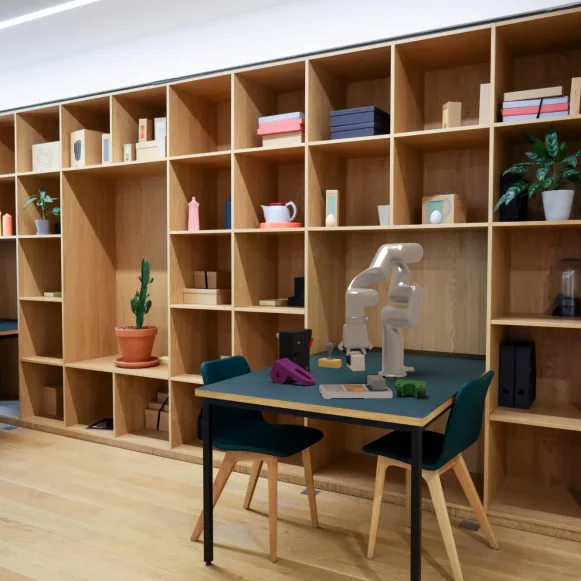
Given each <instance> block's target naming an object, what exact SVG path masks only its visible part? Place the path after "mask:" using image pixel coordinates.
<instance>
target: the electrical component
mask: <svg viewBox="0 0 581 581" xmlns="http://www.w3.org/2000/svg"><path fill="white" fill-rule="evenodd" d="M312 336H313V329H311V328H303V327H302V328H301V327H298V328H292V329H287V330H283V331H278V333H276V338H277V339H278V340H277V341H279V342H278V360H280V359H283V358H287V359H289V360H290V361H292V362H293V363H295V364H296V365H298V366H299V367H301V368H303V369H304V370H306V371H307V372H309V373H310V371H311V367H310V363H311V348H312V346H313V342H314V337H312Z"/></svg>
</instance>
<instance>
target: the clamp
mask: <svg viewBox="0 0 581 581" xmlns="http://www.w3.org/2000/svg"><path fill="white" fill-rule="evenodd" d="M396 379H397V378H396ZM394 388H395V389H396V394H397V395H398V394H402V395H401V398H404V397H405V396H408V395H414V396H413V397H414V398H415V399H416V398H417V399H418V397H420V396H423V397H425V396H426V395H427V381H426V380H425V381H422V380H410V379H399V378H398V379H397V380H396V381H395V384H394ZM403 396H404V397H403Z"/></svg>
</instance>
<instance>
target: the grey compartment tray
mask: <svg viewBox="0 0 581 581" xmlns="http://www.w3.org/2000/svg"><path fill="white" fill-rule="evenodd" d="M366 378H367V380H366V381H367V382H366V383H367V384H365V383H363V384H362V383H361V384H359V383H357V384H355V383H354V384H353V383H352V384H350V383H349V384H319V388H318V391H319V393H320V395H321V394H322V395H321V396H322V398H323V399H324V400H332V399H331V398H364V399H392V398H393V391H392V390H391V389H390V387H388V386H387V380H386V379H385V378H384V377H383V376H380V375H379V374H376V375H374V374H373V375H369V374H368V375H367V377H366Z"/></svg>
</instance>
